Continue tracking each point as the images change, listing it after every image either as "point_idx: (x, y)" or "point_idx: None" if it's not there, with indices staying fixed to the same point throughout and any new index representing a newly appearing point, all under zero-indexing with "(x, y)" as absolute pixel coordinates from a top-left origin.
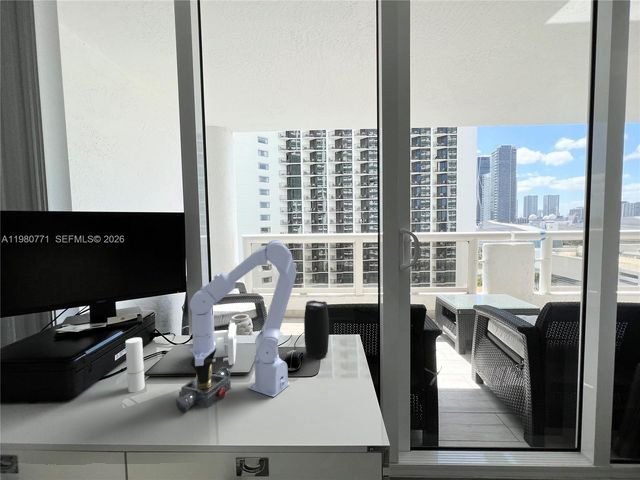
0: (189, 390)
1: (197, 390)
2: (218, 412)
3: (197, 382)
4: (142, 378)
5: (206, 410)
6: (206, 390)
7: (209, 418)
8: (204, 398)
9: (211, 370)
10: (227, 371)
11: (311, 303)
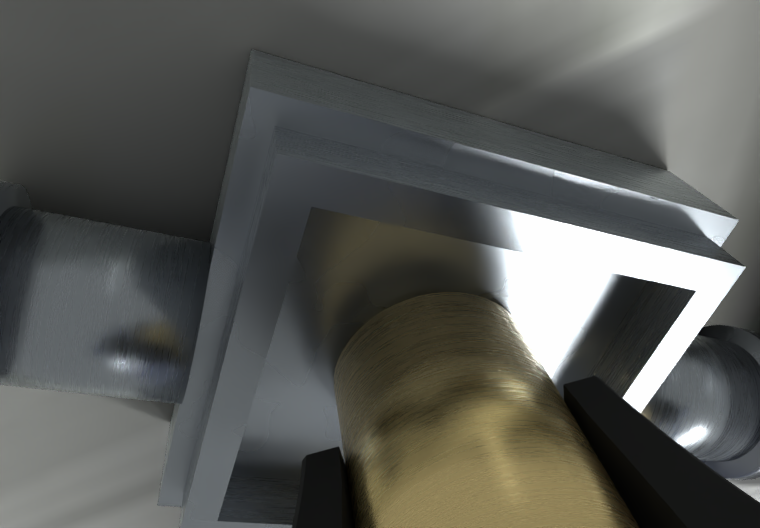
0: (237, 294)
1: (211, 426)
2: (116, 516)
3: (376, 382)
4: None
5: (119, 428)
6: (324, 423)
7: (8, 496)
8: (165, 463)
9: None
10: (707, 464)
11: None
